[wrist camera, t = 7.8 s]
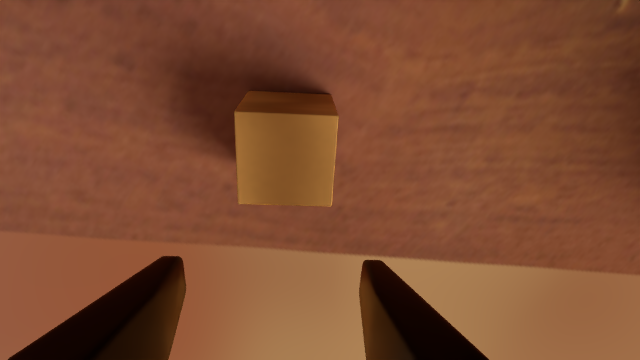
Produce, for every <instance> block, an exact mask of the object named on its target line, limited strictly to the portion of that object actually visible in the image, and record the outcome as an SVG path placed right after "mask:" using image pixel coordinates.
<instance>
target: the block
mask: <svg viewBox="0 0 640 360" xmlns="http://www.w3.org/2000/svg"><path fill="white" fill-rule="evenodd" d="M338 120H339V116H338V113H337V110H336V107H335V104H334V101H333V99H332V96H331V95H330V94H309V93H288V92H266V91H248V92H247V93H246V95H245V96H244V98H243V99H242V101H241V102H240V104H239V105H238V107H237V108H236V110H235V111H234V123H235V147H236V171H237V194H238V204H259V205H295V206H332V197H333V184H334V171H335V158H336V145H337V132H338Z"/></svg>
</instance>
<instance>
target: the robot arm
mask: <svg viewBox="0 0 640 360" xmlns="http://www.w3.org/2000/svg"><path fill="white" fill-rule="evenodd" d="M185 293H186V283H185V274H184V265H183V260H182V258H181V257H179V256H163V257H161V258H159V259H157V260H156V261H154V262H153V263H152V264H150V265H149V266H147V267H145V268H144V269H142V270H141V271H140V272H138V273H136V274H135V275H133V276H132V277H130V278H129V279H128V280H126V281H124V282H123V283H121V284H120V285H118V286H117V287H115V288H114V289H112V290H111V291H109V292H108V293H106V294H105V295H103V296H102V297H100V298H99V299H97V300H96V301H94V302H93V303H91V304H90V305H88V306H87V307H85V308H84V309H82V310H81V311H79V312H78V313H76V314H75V315H73V316H72V317H70V318H69V319H67V320H66V321H65V322H63V323H61V324H60V325H58V326H57V327H55V328H54V329H52V330H51V331H49V332H48V333H46V334H45V335H43V336H42V337H40V338H39V339H37V340H36V341H34V342H33V343H31V344H30V345H28V346H27V347H25V348H24V349H22V350H21V351H19V352H18V353H16V354H15V355H13V356H12V357H10V358H9V359H8V360H168V359H169V355H170V351H171V348H172V344H173V340H174V336H175V333H176V329H177V325H178V321H179V317H180V313H181V310H182V306H183V301H184V298H185ZM359 297H360V306H361V317H362V326H363V335H364V345H365V353H366V360H489V359H488V358H487V357H486V356H485V355H484V354H482V353H481V352H480V351H479V350H478V349H477V348H476V347H475V346H474V345H473V344H472V343H470V342H469V341H468V340H467V339H466V338H465V337H464V336H463V335H462V334H461V333H460V332H459V331H457V330H456V329H455V328H454V327H453V326H452V325H451V324H450V323H449V322H448V321H447V320H445V319H444V318H443V317H442V316H441V315H440V314H439V313H438V312H437V311H436V310H435V309H434V308H432V307H431V306H430V305H429V304H428V303H427V302H426V301H425V300H424V299H423V298H422V297H421V296H419V295H418V294H417V293H416V292H415V291H414V290H413V289H412V288H411V287H410V286H409V285H407V284H406V283H405V282H404V281H403V280H402V279H401V278H400V277H399V276H398V275H397V274H396V273H394V272H393V271H392V270H391V269H390V268H389V267H388V266H387V265H386V264H385V263H384V262H382V261H380V260H365V261H364V262H363V265H362V272H361V280H360V288H359Z"/></svg>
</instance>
